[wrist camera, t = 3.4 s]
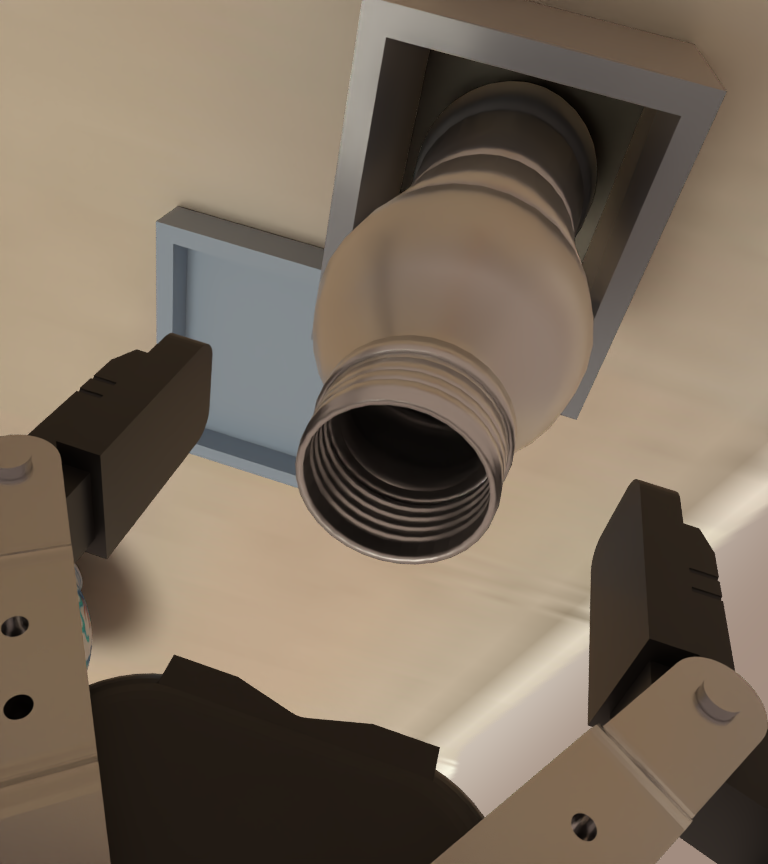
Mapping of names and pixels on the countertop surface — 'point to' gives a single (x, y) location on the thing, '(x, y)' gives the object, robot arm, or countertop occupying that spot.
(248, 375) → the tray
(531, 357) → the plastic bottle
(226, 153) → the countertop surface
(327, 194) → the countertop surface
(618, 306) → the holder
